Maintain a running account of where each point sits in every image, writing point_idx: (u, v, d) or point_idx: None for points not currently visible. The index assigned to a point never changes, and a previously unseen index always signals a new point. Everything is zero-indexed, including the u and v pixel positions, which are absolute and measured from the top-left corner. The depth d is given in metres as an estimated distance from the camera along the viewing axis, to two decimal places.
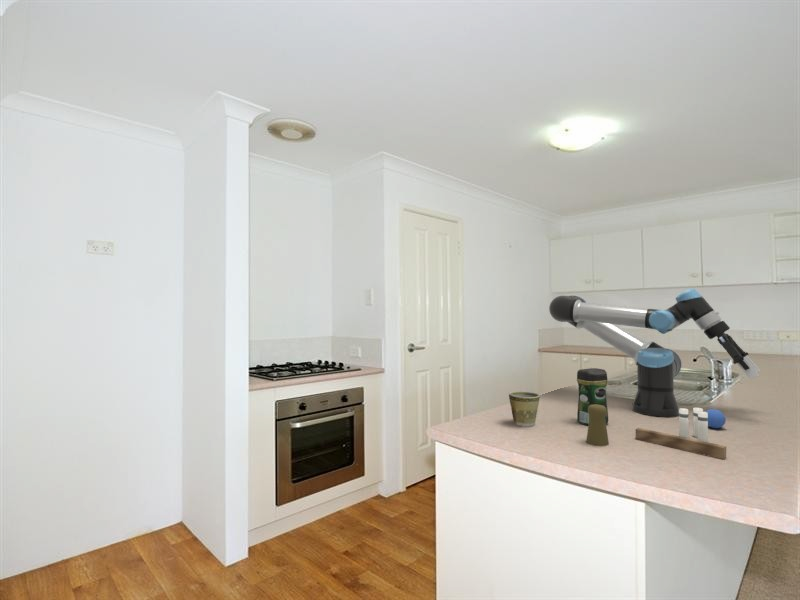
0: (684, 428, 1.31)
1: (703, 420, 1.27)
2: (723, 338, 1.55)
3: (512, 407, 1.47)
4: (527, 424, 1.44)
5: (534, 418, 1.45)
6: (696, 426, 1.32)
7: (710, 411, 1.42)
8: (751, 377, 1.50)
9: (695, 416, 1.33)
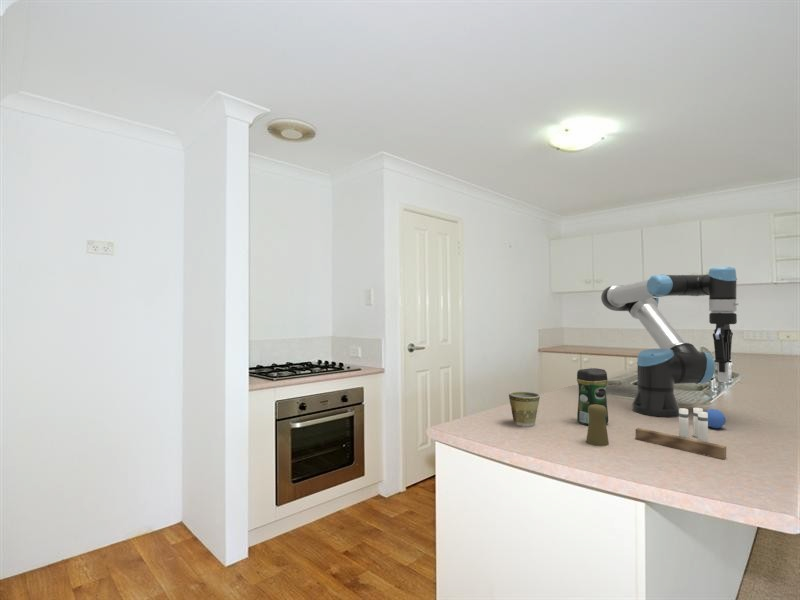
0: (684, 428, 1.31)
1: (703, 420, 1.27)
2: (719, 337, 1.44)
3: (512, 407, 1.47)
4: (527, 424, 1.44)
5: (534, 418, 1.45)
6: (696, 426, 1.32)
7: (710, 411, 1.42)
8: (719, 380, 1.49)
9: (695, 416, 1.33)
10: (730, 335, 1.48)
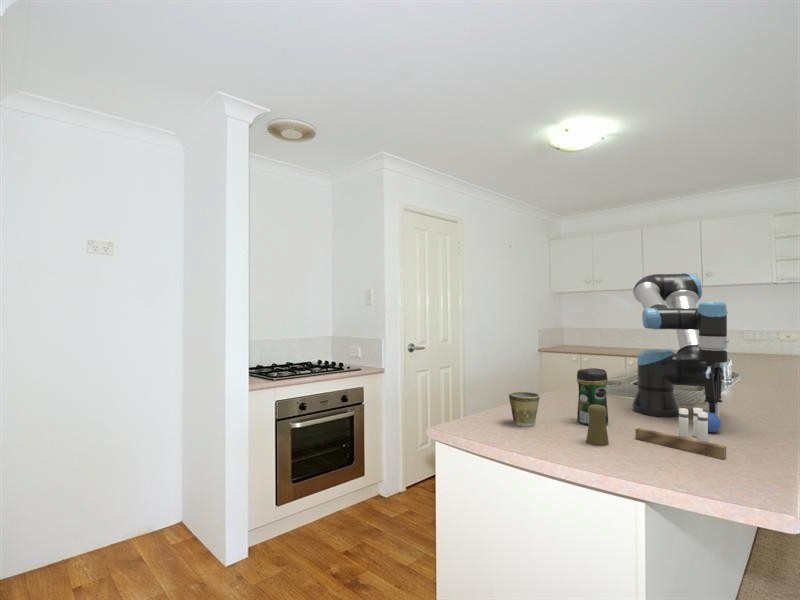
0: (684, 428, 1.31)
1: (703, 420, 1.27)
2: (709, 376, 1.37)
3: (512, 407, 1.47)
4: (527, 424, 1.44)
5: (534, 418, 1.45)
6: (696, 426, 1.32)
7: None
8: None
9: (695, 416, 1.33)
10: (720, 373, 1.41)
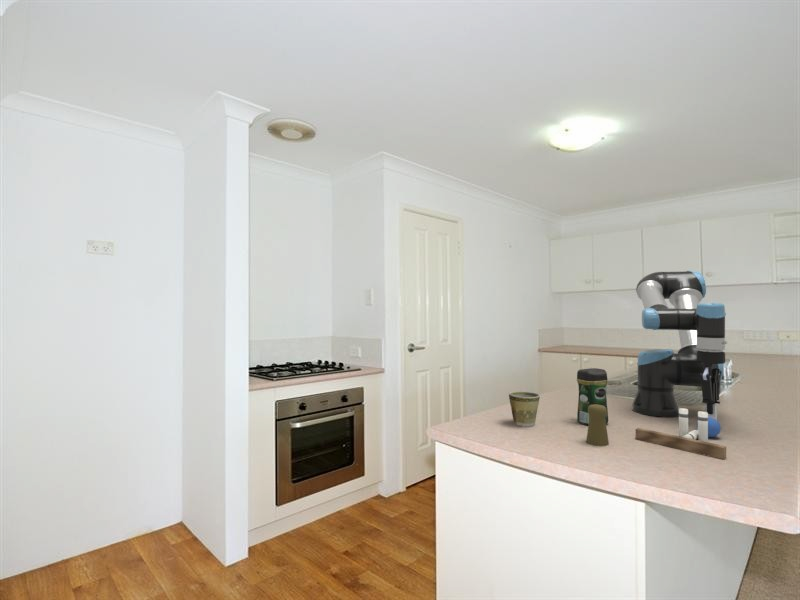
0: (684, 428, 1.31)
1: (703, 420, 1.27)
2: (706, 377, 1.37)
3: (512, 407, 1.47)
4: (527, 424, 1.44)
5: (534, 418, 1.45)
6: None
7: None
8: None
9: None
10: (718, 374, 1.41)
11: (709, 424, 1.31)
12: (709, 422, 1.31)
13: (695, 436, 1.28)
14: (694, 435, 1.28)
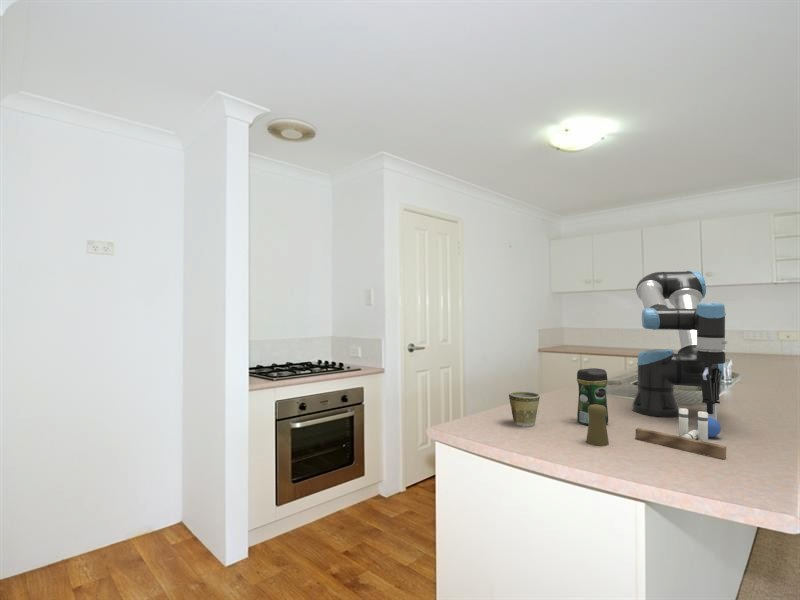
0: (684, 428, 1.31)
1: (703, 420, 1.27)
2: (706, 377, 1.37)
3: (512, 407, 1.47)
4: (527, 424, 1.44)
5: (534, 418, 1.45)
6: None
7: None
8: None
9: None
10: (718, 374, 1.41)
11: (709, 424, 1.31)
12: (709, 422, 1.31)
13: (694, 435, 1.28)
14: (693, 434, 1.28)
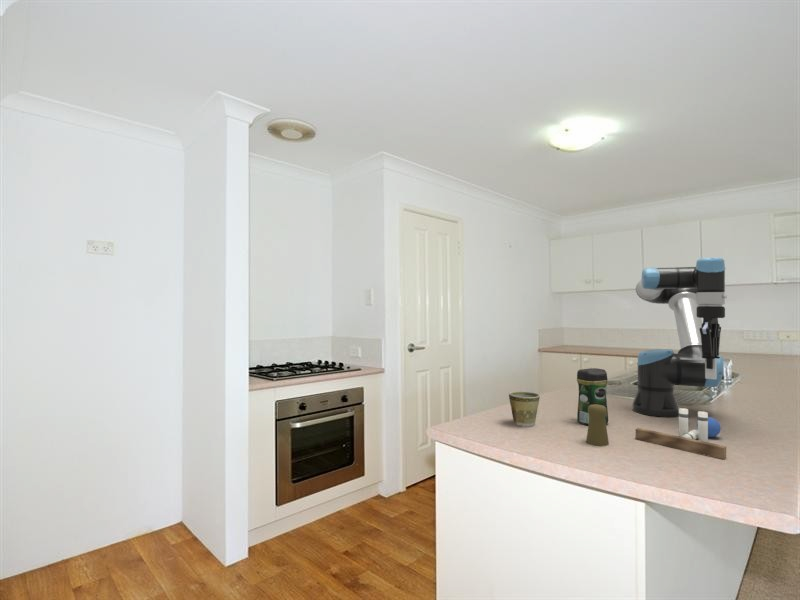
0: (684, 428, 1.31)
1: (703, 420, 1.27)
2: (706, 331, 1.37)
3: (512, 407, 1.47)
4: (527, 424, 1.44)
5: (534, 418, 1.45)
6: None
7: None
8: (707, 377, 1.41)
9: None
10: (718, 330, 1.41)
11: (709, 424, 1.31)
12: (709, 422, 1.31)
13: (694, 435, 1.28)
14: (693, 434, 1.28)
